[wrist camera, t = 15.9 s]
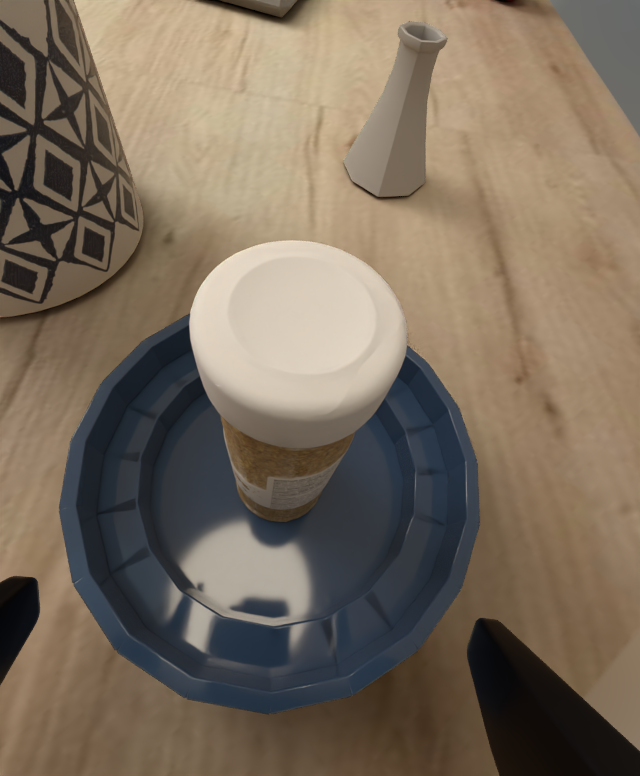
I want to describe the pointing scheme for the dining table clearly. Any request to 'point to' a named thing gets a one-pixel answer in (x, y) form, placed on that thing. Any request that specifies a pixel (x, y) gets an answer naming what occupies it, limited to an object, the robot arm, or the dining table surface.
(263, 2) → the decorative plate
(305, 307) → the sprinkles bottle
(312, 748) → the dining table surface
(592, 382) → the dining table surface
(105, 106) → the planter
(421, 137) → the flask
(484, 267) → the dining table surface
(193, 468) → the bowl
